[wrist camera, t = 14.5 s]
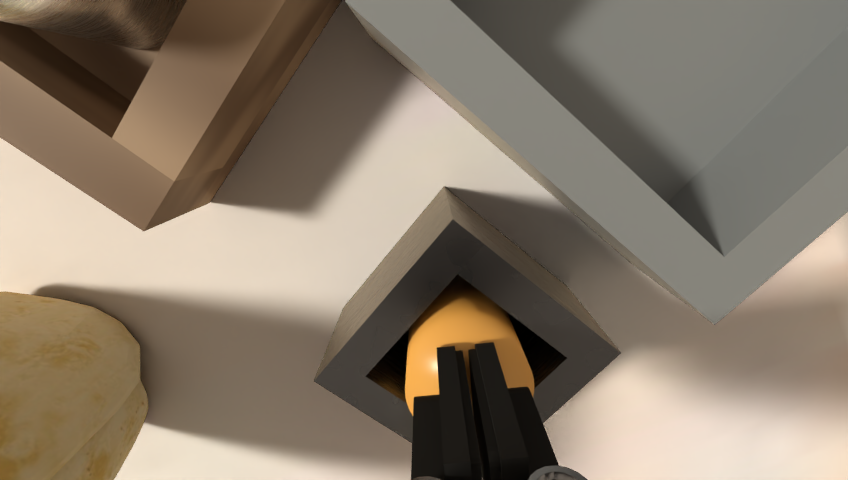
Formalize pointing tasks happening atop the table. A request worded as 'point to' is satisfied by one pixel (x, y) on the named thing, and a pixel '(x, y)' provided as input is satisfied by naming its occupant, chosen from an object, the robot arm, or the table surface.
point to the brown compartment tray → (154, 101)
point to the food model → (66, 390)
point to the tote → (654, 120)
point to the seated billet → (98, 19)
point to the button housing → (422, 283)
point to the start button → (462, 339)
